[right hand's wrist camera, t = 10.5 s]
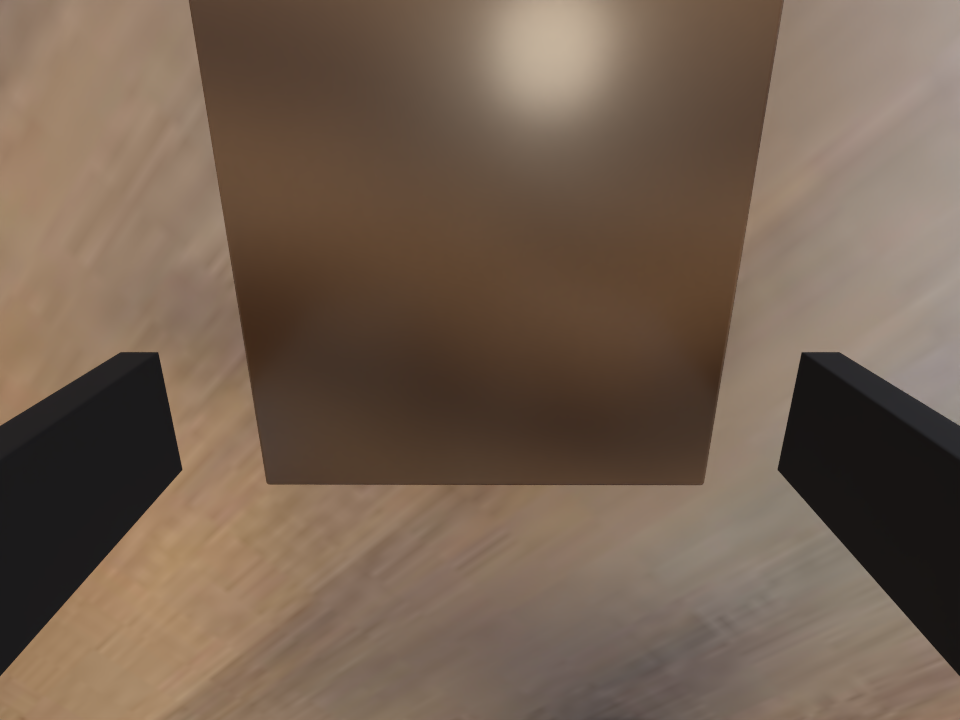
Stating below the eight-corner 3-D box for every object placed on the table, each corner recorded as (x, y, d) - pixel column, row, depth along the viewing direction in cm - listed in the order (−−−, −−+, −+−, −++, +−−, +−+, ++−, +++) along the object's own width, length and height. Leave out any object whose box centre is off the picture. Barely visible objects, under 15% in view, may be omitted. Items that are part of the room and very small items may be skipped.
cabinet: (278, -272, 16) (81, -646, 8) (692, -274, 16) (894, -652, 8) (340, 360, 23) (265, 486, 15) (628, 360, 22) (704, 486, 15)
